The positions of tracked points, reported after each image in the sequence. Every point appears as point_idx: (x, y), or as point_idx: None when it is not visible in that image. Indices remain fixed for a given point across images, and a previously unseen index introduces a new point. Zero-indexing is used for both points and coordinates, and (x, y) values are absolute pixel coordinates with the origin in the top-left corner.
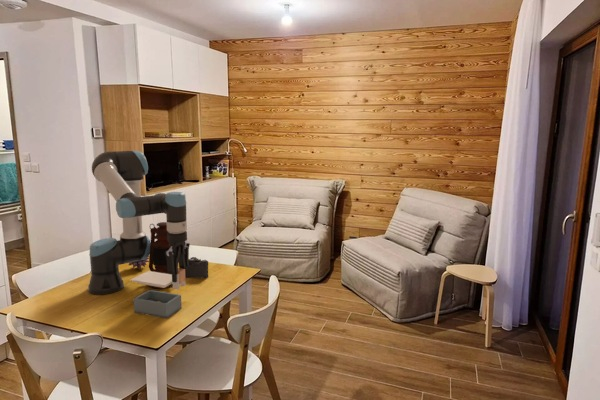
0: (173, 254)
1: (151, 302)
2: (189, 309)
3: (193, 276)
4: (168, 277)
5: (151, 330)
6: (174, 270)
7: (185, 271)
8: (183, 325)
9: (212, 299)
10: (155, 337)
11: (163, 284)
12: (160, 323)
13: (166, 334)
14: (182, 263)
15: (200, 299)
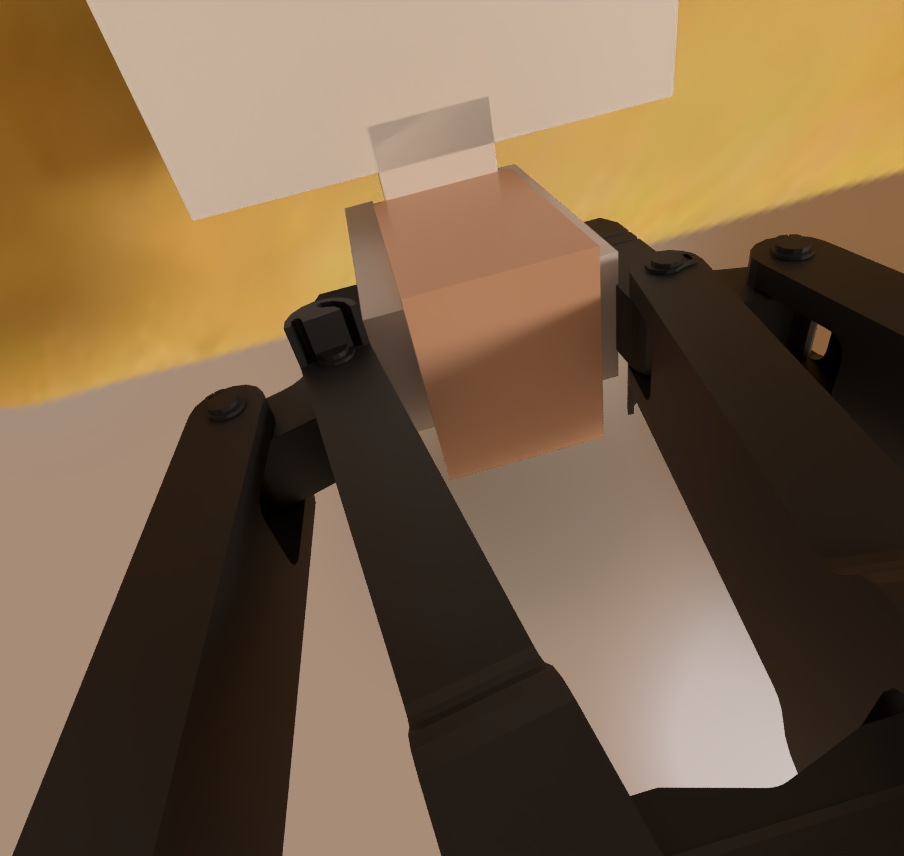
0: (563, 821)
1: None
2: (505, 143)
3: None
4: None
5: (19, 189)
6: (308, 540)
7: None
8: (279, 331)
9: (746, 162)
10: (6, 317)
11: (191, 156)
12: (153, 143)
13: (104, 343)
14: (674, 451)
15: (723, 54)
